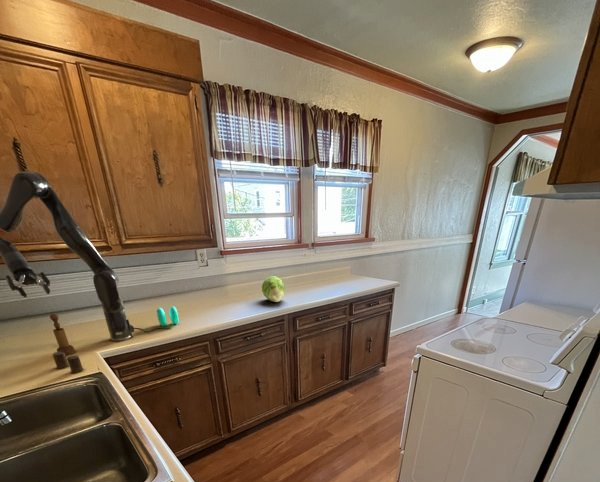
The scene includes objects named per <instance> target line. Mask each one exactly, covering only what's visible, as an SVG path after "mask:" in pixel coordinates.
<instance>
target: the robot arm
mask: <svg viewBox="0 0 600 482" xmlns="http://www.w3.org/2000/svg"><path fill="white" fill-rule="evenodd" d="M32 199H39V200H40V201H41V202H42V203H43V205H44V206H45V207H46V209H47V210H48V212H49V214H50V217H51V220H52V223H53V227H54V229H55V232H56V233H57V235H58V236H59V237H60V239H61V240H62V241H63V243H64V244H65V245H66V246H67V247H68V249H69V250H70V251H71V252H72V253H74V254H75V255H76V256H77V257H78V258H80V259H81V260H82V261H83V262H84V263H85V264H86V265H87V267H89V269H90V270H91V272H92V273H93V274H94V275H93V277H92V282H93V286H94V289H95V292H96V295H97V298H98V300H99V302H100V304H101V308H102V311H103V314H104V318H105V322H106V326H107V329H108V333H109V337H110V340H111V341H114V342H120V341H126V340H130V339H131V338H133V333H135V330H139V331H142V332H144V333H151V332H154V331H156V330H170V329H171V328H172V327H155V328H152V329H150V330H145V329H143V328H141V327H134V325H132V324H131V323H130V320H129V319H128V318H127V313H126V310H125V307H124V302H123V298H122V297H121V296H120V293H119V289H118V285H119V283H120V282H119V281H120V280H119V276H118V274H117V273H116V272H115V270H114V269H112V267H111V266H110V265H109V264H108V263H107V262H106V261H105V259H103V257H102V256H101V255H100V253H99V252H98V250H97V249H96V247H95V246H94V245H93V243H92V242H91V240H90V239H89V238H88V236H87V235H86V233H85V232H84V230H83V229H82V228H81V227H80V225H79V223H77V222H76V220H75V219H74V218H73V216H72V215H71V214H70V212H69V211H68V209H67V208H66V207H65V205H64V204H63V202H62V201H61V199H60V198H59V196H58V195H57V192H56V191H55V189H54V187H52V185H51V183H50V182H49V180H48V179H47V178H46V177H45V176H44V174H42V173H40V172H38V171H35V170H33V171H32V170H28V171H27V170H26V171H20V172H16V173H15V174H14V175H13V177H12V180H11V183H10V187H9V190H8V193H7V196H6V199H5V201H4V204H3V205H2V207H1V209H0V228H1V229H3V230H5V231H7V232H12V231H14V230H15V229H16V230H17V228H18V227H19V226H20V224H21V222H22V221H23V218H24V209H25V206H26V205H27V204H29V202H30V201H31V200H32ZM13 244H14V243H10V242H7V241H5V240H3V239H2V238H1V237H0V257H1V258H2V260H3V262H4V264H5V266H6V268H8V270H9V272H10V273H11V274H12V276H10V275H6V276H5V281H6V282H7V284H8V286H9V288H10V290H11V291H13V292H14V291H17V292H18V293H19V294H20V296H21V297H23V298H27V296H28V295H27V293H26V291H25V290H24V288H23V287H24V285H25V286H30V285H31V286H32V285H33V286H34V285H36V286H38V287H39V286H40V287H41V288H43V290H44V292H45V293H46V294H47V295H50V293H51V289H50V288H49V287H50V285H51V280H50V279H49V278H48V277H47V276H46V274H45V273H44V272H43V271H41V272H40V273H35V271H34V270H33V269H32V266H31V265H30V264H29V262H28V261H27V259H26V258H25V257H24V256H23V254H22V253H21V252H20V250H19V249H18V247H17V246H16V245H15V244H14V245H15V246H16V247H17V248H16V247H15V246H14V245H13ZM14 281H15V282H17V285H15V283H14Z"/></svg>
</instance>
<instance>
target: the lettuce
mask: <svg viewBox="0 0 600 482" xmlns="http://www.w3.org/2000/svg"><path fill="white" fill-rule="evenodd" d="M285 290H286V288H285V284H284V283H283V281H282V279H281V278H280V277H278V276H275V275H273V276H268V277H267V278H265V279H264V281H262V285H261V292H262V294H263V295H264V297H265V298H266V299H267V300H268V301H270V302H273V303H278V302H280V301H281V300H282V299H283V298H284V295H285Z"/></svg>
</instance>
